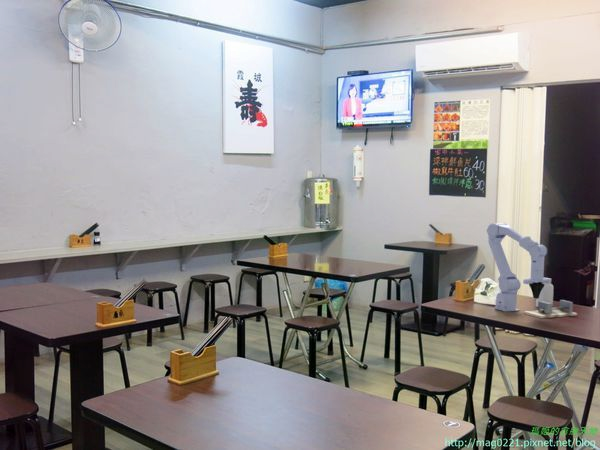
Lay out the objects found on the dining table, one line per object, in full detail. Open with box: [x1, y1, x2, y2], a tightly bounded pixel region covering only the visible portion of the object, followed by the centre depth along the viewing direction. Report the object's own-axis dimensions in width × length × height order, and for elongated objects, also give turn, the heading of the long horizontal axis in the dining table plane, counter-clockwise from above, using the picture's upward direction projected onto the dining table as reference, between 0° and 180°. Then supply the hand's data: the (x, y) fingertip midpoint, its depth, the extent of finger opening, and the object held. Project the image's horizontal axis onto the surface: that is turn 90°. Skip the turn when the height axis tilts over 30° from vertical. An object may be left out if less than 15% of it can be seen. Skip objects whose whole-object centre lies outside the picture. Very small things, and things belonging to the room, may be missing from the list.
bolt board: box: [523, 299, 578, 319], centre depth 300 cm, size 23×11×6 cm, turn 112°
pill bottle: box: [535, 277, 554, 308], centre depth 317 cm, size 8×8×15 cm
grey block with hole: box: [537, 301, 553, 314], centre depth 299 cm, size 3×6×5 cm, turn 22°
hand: (535, 298), depth 296 cm, fingers closed
